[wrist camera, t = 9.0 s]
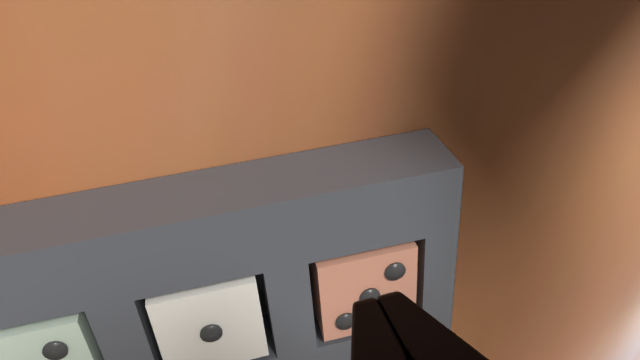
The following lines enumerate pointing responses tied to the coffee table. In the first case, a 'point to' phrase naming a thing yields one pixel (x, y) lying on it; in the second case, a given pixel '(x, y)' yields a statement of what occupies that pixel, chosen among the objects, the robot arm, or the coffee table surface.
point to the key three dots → (359, 283)
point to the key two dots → (51, 340)
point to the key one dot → (210, 322)
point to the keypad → (234, 240)
